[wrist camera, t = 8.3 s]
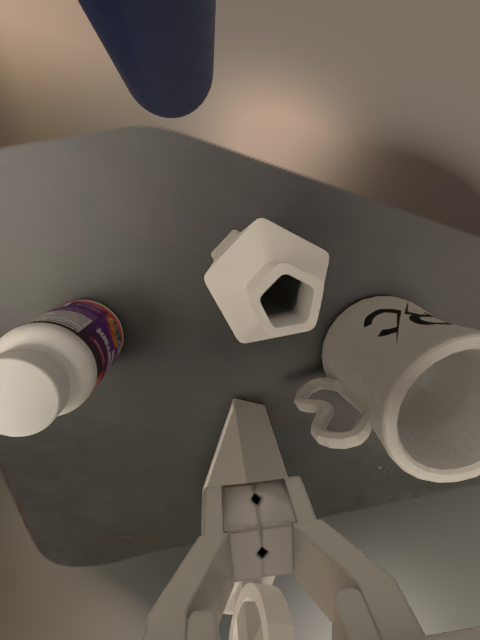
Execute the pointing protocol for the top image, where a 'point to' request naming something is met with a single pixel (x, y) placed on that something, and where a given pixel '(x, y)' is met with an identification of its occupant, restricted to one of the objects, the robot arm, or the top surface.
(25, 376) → the pill bottle
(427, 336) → the mug
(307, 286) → the perfume bottle
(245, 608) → the gravestone
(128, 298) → the top surface
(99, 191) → the top surface
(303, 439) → the top surface
